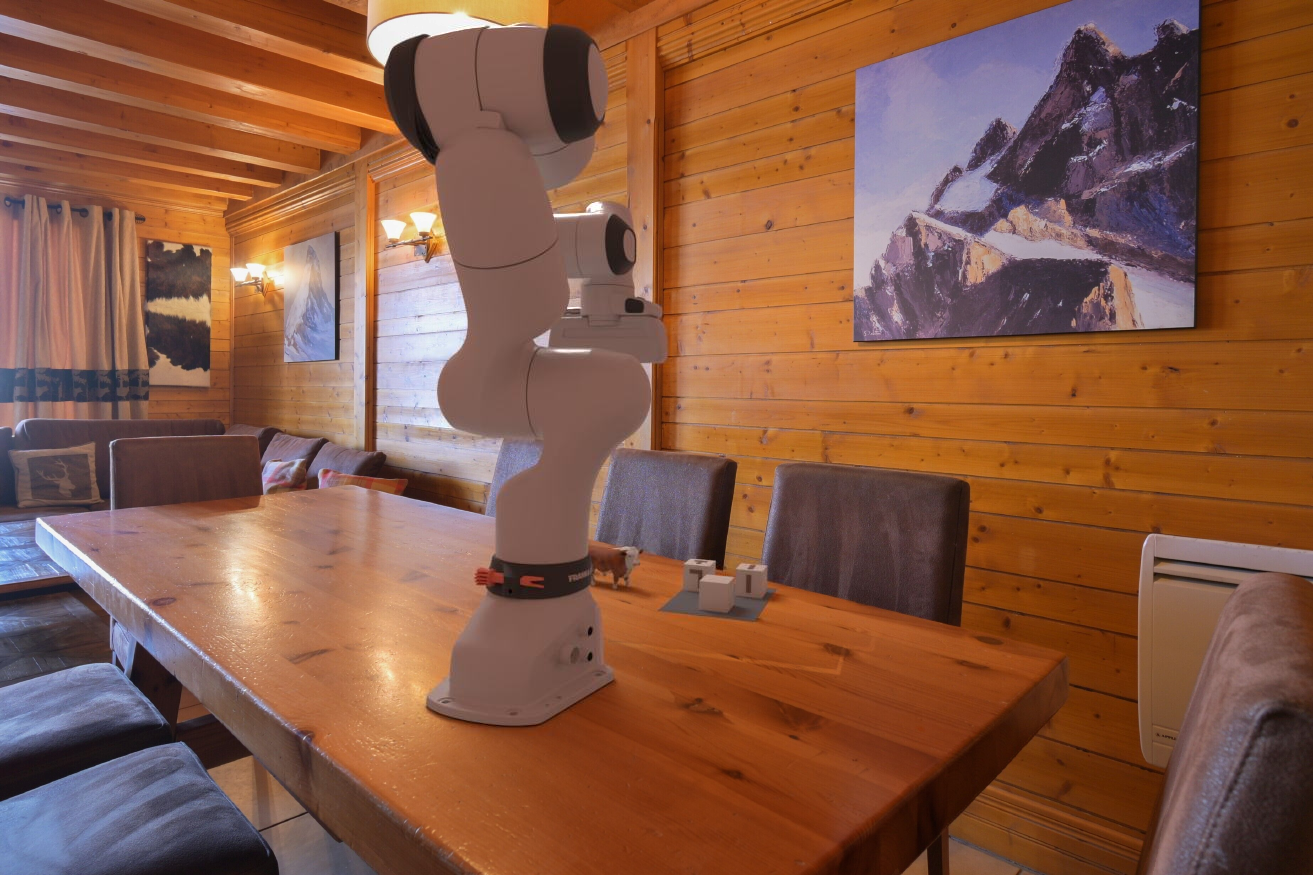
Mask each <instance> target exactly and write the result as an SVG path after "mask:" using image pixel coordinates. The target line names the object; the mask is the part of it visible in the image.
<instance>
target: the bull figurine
mask: <svg viewBox="0 0 1313 875" xmlns="http://www.w3.org/2000/svg"><path fill="white" fill-rule="evenodd" d="M588 552H589V553H590V554H591V562H592V582H591V584H590V585H592V586H596V585H597V584H596V579H595V572H596V570H597V571H598V572H600V573H601V574H602V576H603V577H604V578H605V577H606V576H607V575H608V574H612V576H613V585H612V587H611V588H612V589H615V590H616V589H618V582H619V581H620V579H623V580H624V582H625V587H626V588H631V583H630V575H631V573H632V572H633V568H635V567H639V566H641V561H640V560H639V557H640V556H639V555H641V554H643V552H644V549H643V548H640V549H638V548H637V547H636V546H623V547H614V548H613V547H605V546H600V545H599V546H598V545H595V544H590V543H588Z"/></svg>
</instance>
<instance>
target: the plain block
mask: <svg viewBox="0 0 1313 875" xmlns="http://www.w3.org/2000/svg"><path fill="white" fill-rule="evenodd" d="M734 584H735V576H726V575H716V574H715V575H706V576H704V577H703V578H702V579H701V580H700V581H699V610H706V611H714V612H723V613H728V611H729V610H730V609H731V608H732V607H733V605H734Z"/></svg>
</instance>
